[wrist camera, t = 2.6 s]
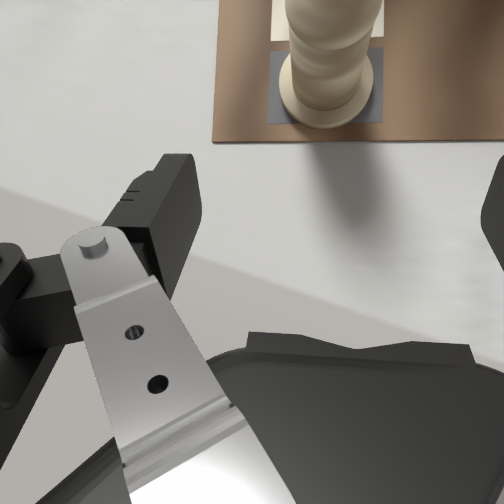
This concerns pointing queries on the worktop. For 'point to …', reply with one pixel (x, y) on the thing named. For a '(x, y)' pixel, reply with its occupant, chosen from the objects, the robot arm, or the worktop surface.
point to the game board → (384, 74)
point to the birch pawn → (327, 60)
